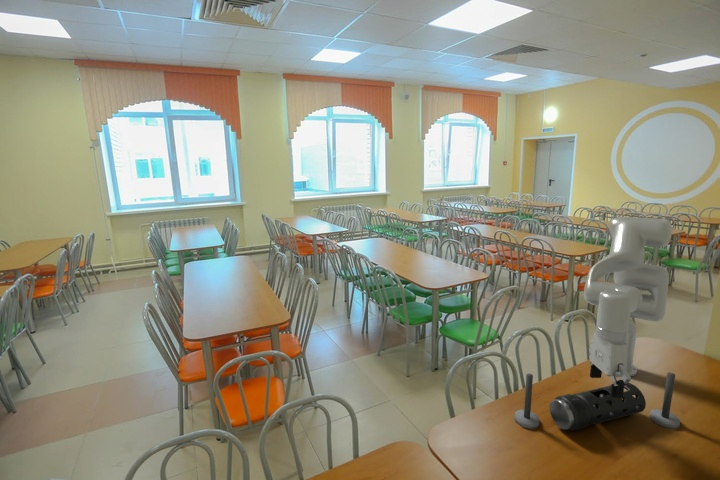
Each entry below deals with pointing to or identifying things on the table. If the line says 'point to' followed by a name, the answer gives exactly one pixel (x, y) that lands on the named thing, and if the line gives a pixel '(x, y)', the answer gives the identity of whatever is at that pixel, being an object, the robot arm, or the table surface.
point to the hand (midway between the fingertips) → (605, 386)
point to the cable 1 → (527, 408)
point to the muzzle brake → (595, 407)
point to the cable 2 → (666, 407)
